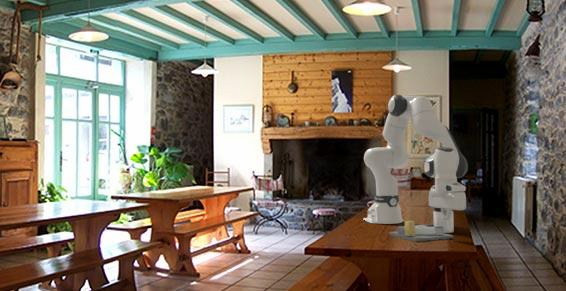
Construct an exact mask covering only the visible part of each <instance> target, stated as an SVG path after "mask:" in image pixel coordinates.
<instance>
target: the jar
mask: <svg viewBox="0 0 566 291" xmlns="http://www.w3.org/2000/svg"><path fill="white" fill-rule="evenodd" d="M432 211H433V212H432V213H433V215H432V216H433V223H432V224H433V225H434V226H443V228H444V234H451V233H454V226H455V225H454V224H455V223H454V211H453V212H452V214H451V220H445V219H443V215H442V212H441V208H436V207H433V210H432ZM446 212H447V211H446Z"/></svg>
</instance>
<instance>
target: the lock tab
mask: <svg viewBox="0 0 566 291" xmlns="http://www.w3.org/2000/svg"><path fill="white" fill-rule="evenodd" d="M404 226H405V235H406V236H415V226H416V222H415V220H414V221H413V220H404Z"/></svg>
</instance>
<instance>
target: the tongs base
mask: <svg viewBox="0 0 566 291" xmlns="http://www.w3.org/2000/svg"><path fill="white" fill-rule="evenodd" d="M415 227H434V225H433V223H428V224H427V223H425V224H418V225H415ZM397 231H398V234H401V235H405V225H404V226H402V225H398V226H397ZM405 236H406V235H405Z"/></svg>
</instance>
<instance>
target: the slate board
mask: <svg viewBox="0 0 566 291" xmlns="http://www.w3.org/2000/svg"><path fill="white" fill-rule="evenodd" d="M388 236H391V237H396V238H400V239H403V240H408V241H410V242H427V241H428V240H429V241H437V240H439V239H441V240H450V238H452V239H454V235H452V234H449V233H444V235H418V234H415V236H405V235H401V234H398V230H397V231H389V232H388ZM439 241H440V240H439Z"/></svg>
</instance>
